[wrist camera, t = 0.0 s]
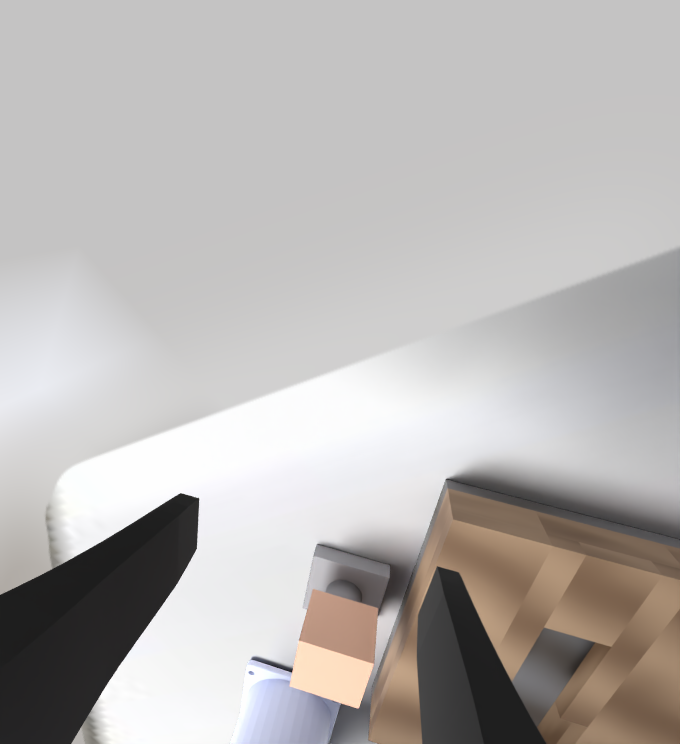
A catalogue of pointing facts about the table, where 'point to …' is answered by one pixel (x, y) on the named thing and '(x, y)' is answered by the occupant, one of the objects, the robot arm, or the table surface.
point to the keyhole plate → (550, 619)
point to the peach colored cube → (339, 625)
